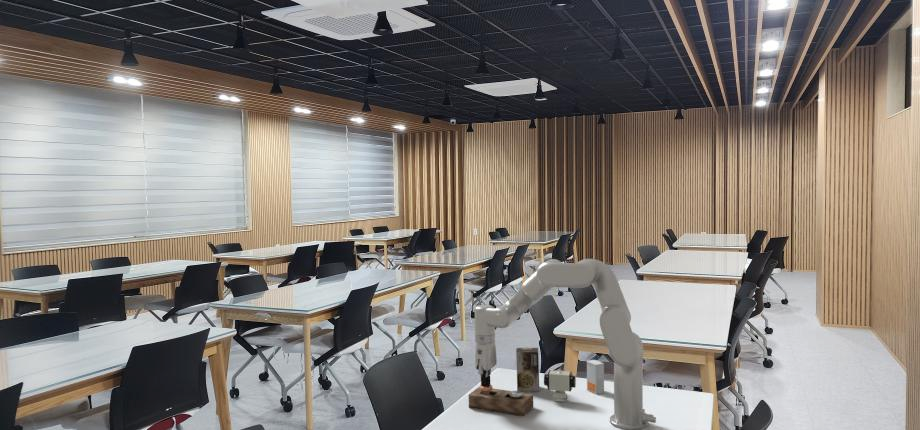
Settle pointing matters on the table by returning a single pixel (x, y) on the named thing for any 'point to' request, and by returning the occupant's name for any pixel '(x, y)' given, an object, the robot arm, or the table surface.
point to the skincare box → (595, 376)
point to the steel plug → (515, 394)
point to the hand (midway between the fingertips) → (485, 386)
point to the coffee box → (527, 369)
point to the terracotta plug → (486, 389)
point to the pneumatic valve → (560, 383)
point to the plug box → (501, 402)
